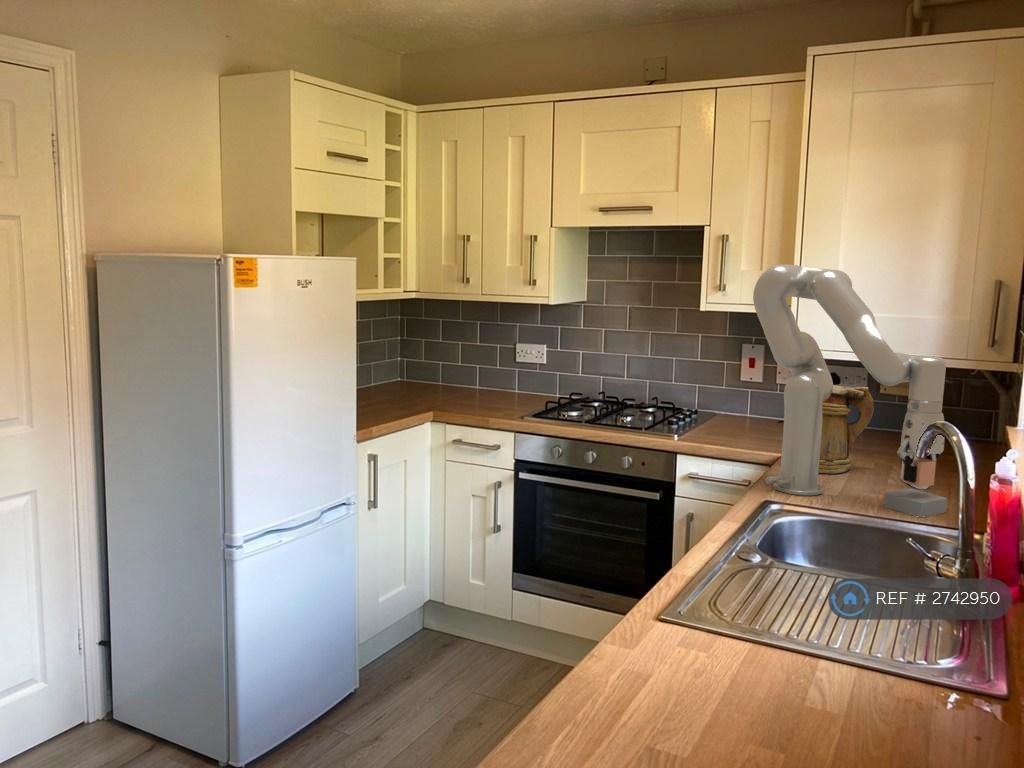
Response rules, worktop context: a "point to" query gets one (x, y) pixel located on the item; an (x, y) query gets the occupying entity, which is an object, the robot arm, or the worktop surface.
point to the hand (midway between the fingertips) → (918, 479)
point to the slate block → (915, 502)
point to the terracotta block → (923, 473)
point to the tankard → (842, 426)
